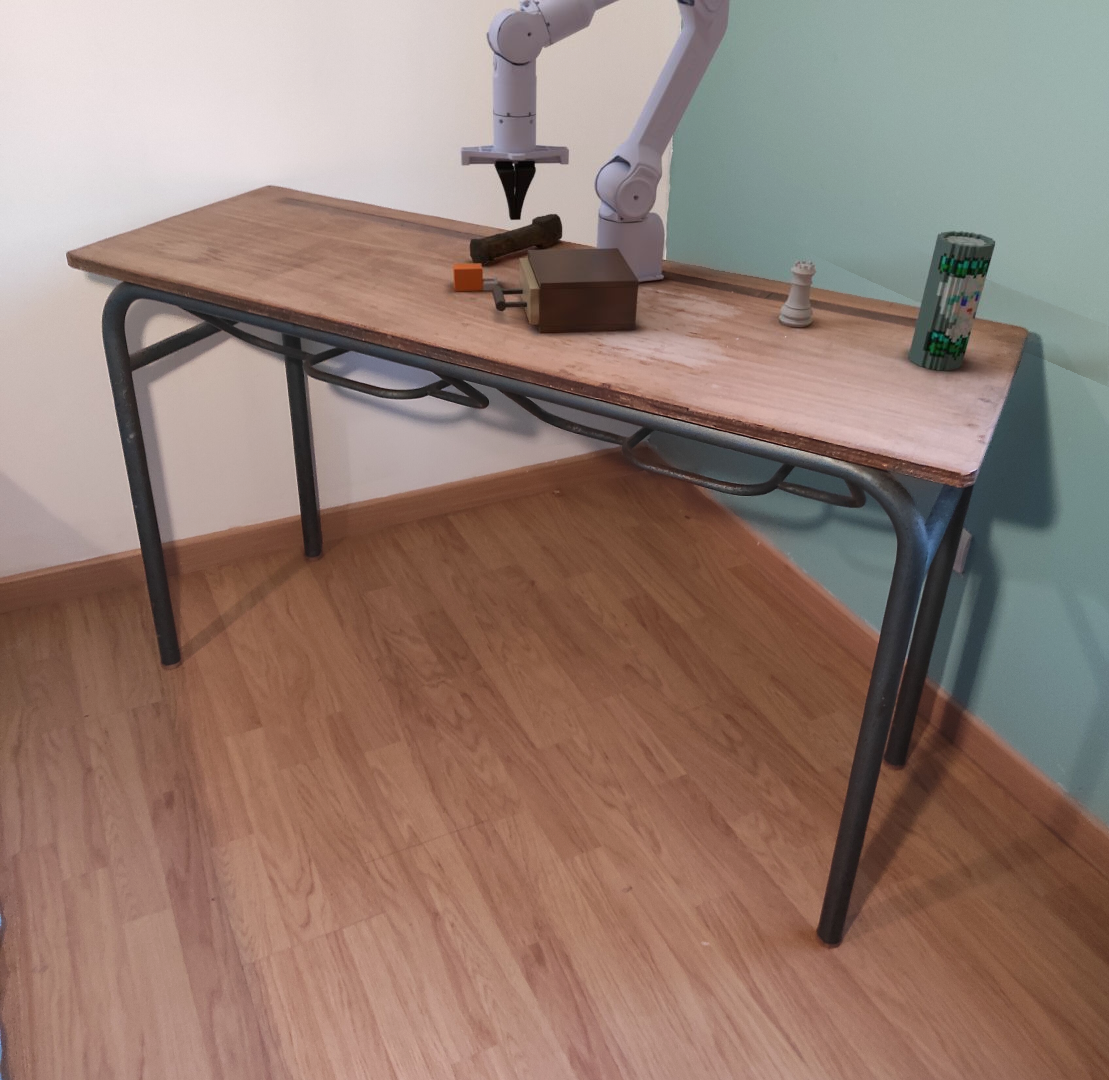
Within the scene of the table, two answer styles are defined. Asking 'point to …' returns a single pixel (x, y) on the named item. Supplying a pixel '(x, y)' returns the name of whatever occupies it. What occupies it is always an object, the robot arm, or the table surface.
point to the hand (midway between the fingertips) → (514, 217)
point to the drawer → (521, 293)
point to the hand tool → (517, 239)
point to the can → (951, 299)
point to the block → (471, 278)
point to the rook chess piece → (799, 296)
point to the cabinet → (584, 290)
